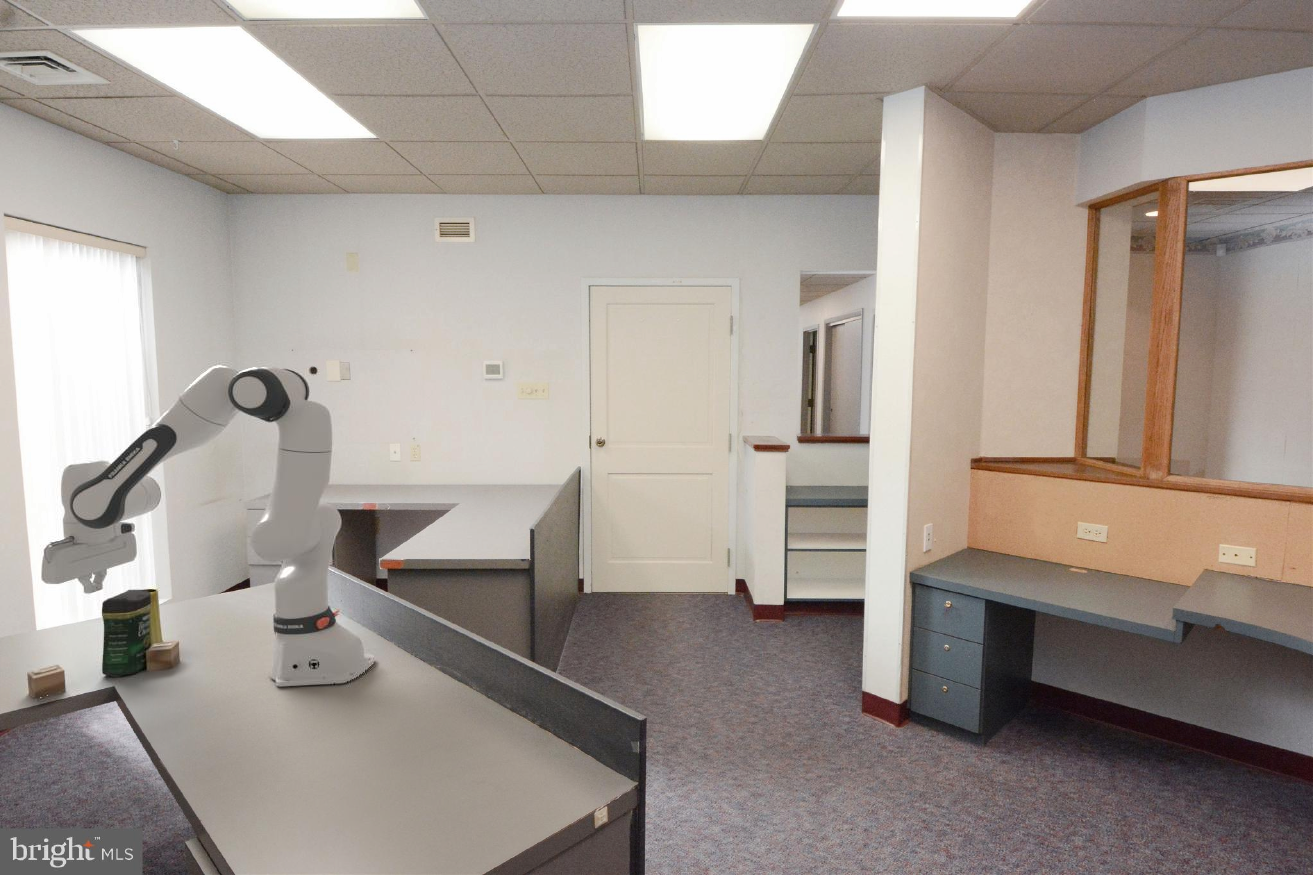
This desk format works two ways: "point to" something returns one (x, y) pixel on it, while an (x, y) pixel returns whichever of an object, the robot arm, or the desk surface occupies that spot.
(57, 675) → the marked block 1
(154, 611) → the vase
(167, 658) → the marked block 2
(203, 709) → the desk surface
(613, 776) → the desk surface
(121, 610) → the coffee jar
